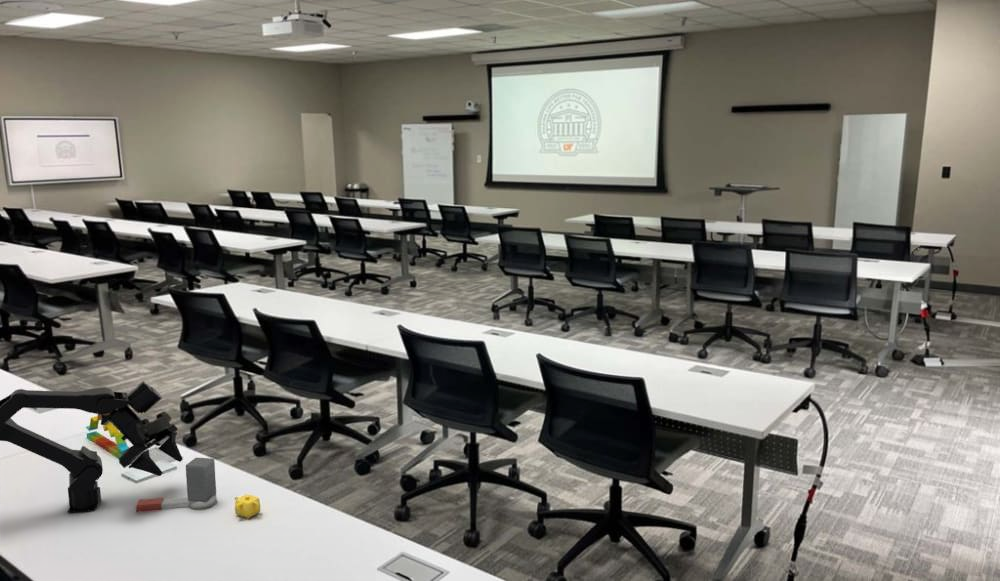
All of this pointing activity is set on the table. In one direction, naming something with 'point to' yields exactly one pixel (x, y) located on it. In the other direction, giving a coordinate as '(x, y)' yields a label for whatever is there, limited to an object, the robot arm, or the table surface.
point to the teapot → (247, 506)
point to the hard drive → (142, 475)
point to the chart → (105, 442)
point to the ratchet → (173, 504)
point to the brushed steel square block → (201, 479)
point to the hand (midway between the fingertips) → (171, 467)
